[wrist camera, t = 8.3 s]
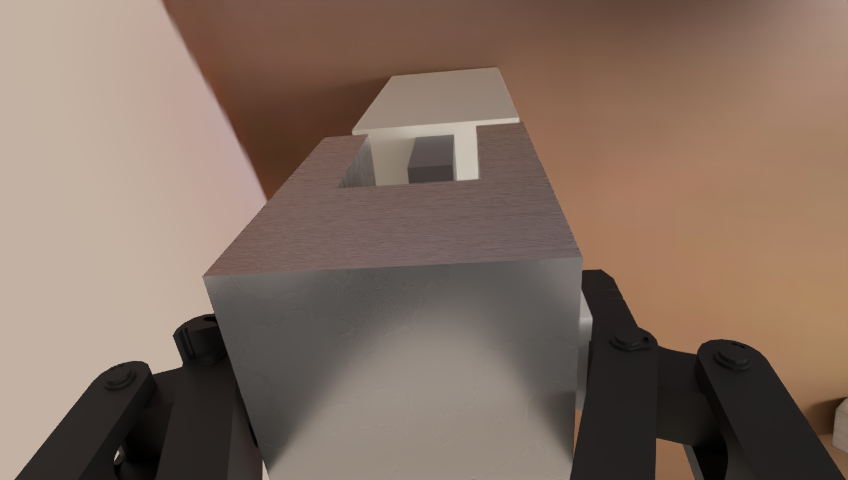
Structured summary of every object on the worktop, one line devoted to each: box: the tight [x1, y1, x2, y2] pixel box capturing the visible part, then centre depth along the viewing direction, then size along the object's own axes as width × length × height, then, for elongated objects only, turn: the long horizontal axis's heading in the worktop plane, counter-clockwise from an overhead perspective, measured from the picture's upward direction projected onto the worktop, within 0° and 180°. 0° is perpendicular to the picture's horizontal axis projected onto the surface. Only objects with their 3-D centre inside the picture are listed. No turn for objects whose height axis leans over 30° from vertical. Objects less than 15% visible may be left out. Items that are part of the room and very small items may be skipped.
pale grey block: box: [202, 122, 583, 480], centre depth 14 cm, size 8×6×9 cm
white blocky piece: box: [352, 67, 519, 186], centre depth 31 cm, size 24×7×18 cm, turn 5°
